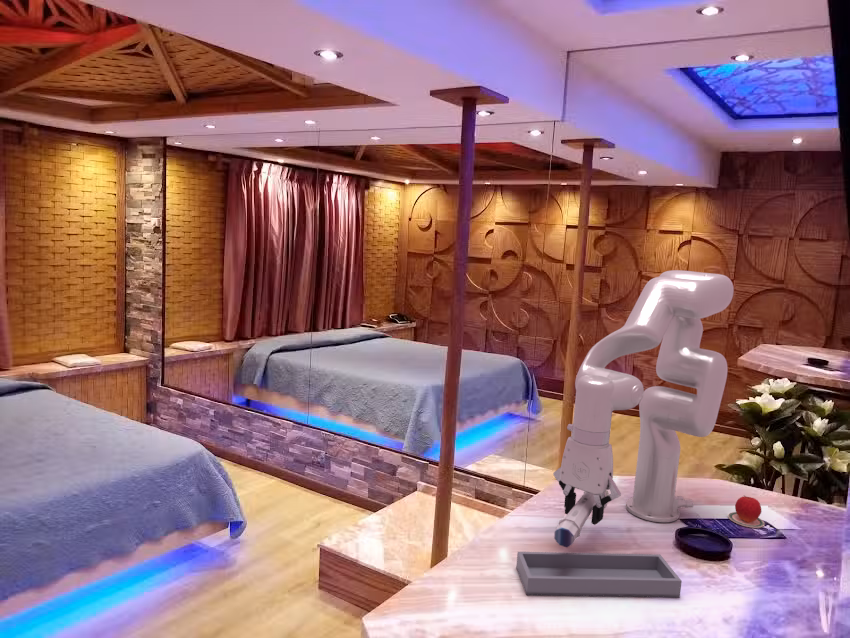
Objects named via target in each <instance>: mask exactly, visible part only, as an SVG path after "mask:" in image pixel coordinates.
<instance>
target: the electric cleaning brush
mask: <svg viewBox="0 0 850 638" xmlns="http://www.w3.org/2000/svg"><path fill="white" fill-rule="evenodd" d="M605 493H606V496H607V495H609V494H610V493H609V491H608V490H606V491H605ZM594 505H596V503H595V498H594V494H591V493H588V492H585V491H583V494H582V495H581V497H580V498H579V499H578V500H577V502H576V503H575V505H574V507H573V508H572V509H571V510H570V512H569V513H568V514H566V516H565V517H564V518H563V519H561V520H559V522H558V526H557V528H556V529H555V530H554V536H553V537H554V538H553V539H554V540H555V542H556V543H557V544H558V546H561V547H563V548H569V547H570V546H572V545H573V544H574V543H575V541H576V540H577V538H579V537H581V531H582V529H583V527H584V526H585V524H586V522H587V520H588V518H589V517H590V515H591V514H592V511H593V506H594ZM607 505H608V503H607V504H605V505H604V509H606V508H607Z"/></svg>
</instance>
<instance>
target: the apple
mask: <svg viewBox="0 0 850 638" xmlns="http://www.w3.org/2000/svg"><path fill="white" fill-rule="evenodd" d="M734 509H735V511H732V512H729V513H728V514H727V517H728V519H729V520H730V521H732V522H733V523H736V524H737V525H740V526H742V527H747V528H751V529H752V528H755V529H757V528H758V529H759V528H763V527H764V526H765V522H764V520H763V519H761V518H760V516H761V514H762V507H761V503H760V502H759V501H758V499H756V498H754V497H751V496H746V495H744V496H741V497H739V498H738V499H737V500H736V501H735V506H734Z"/></svg>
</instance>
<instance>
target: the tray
mask: <svg viewBox="0 0 850 638" xmlns="http://www.w3.org/2000/svg"><path fill="white" fill-rule="evenodd" d="M515 566H516V570H517V574H518V575H519V579H520V581H521V584H522V586H523V589H524V592H525V594H526V596H537V597H538V596H541V597H542V596H544V597H545V596H546V597H547V596H548V597H549V596H550V597H556V596H557V597H598V598H599V597H600V598H601V597H604V598H605V597H607V598H608V597H611V598H612V597H613V598H668V599H669V598H671V599H672V598H673V599H674V598H675V599H677V598H678V599H679V598H680V597H681V588H682V583H683V582H682V579H681V578H680V577H679V575H678V574H677V573H676V572H675V570H674V569H673V568H672V566H671V565H670V564H669V563H668V562H667V561H666V560H665V558H664V557H663V556H662V555H661V554H655V553H654V554H652V553H651V554H649V553H609V552H608V553H607V552H605V553H602V552H601V553H600V552H559V551H558V552H557V551H556V552H553V551H552V552H551V551H549V552H548V551H545V552H544V551H517V557H516V565H515Z"/></svg>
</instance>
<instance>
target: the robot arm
mask: <svg viewBox="0 0 850 638" xmlns="http://www.w3.org/2000/svg"><path fill="white" fill-rule="evenodd" d="M733 284H734V283H733V282H732V280H731V279H730V278H729V277H728V276H727V275H724V274H718V273H709V272H700V271H693V270H692V271H691V270H684V269H683V270H679V269H678V270H677V269H674V270H667V271H664V272H662V273H661V274H660V275H659V276H656V277H654V278H651V279H650V280H649V281H647V283H646V284H645V286H644V287H643V289H642V291H641V292H640V295H638V296H639V297H638V298H637V300H636V302H635V304H634V306H633V307H632V310H631V311H630V314H629V315H628V318H627V320H626V322H625V323H624V325H623V326H622V327H621V328H619V329H617V330H615V331H613V332H611V333H610V334H608V335H606V336H605V337H603V338H602V339H600V340H599V341H598V342H596V343H595V344H594V345H593V346H592V347H591V348H590V349H589V351H587V354H586V356H585V357H584V360H583V361H582V363H581V365H580V366H579V369H578V372H577V374H576V377H575V383H574V386H575V399H574V401H575V402H574V410H573V420H572V421H573V422H572V423H569V424H568V425H567V426H566V428H567V429H566V430H568V431H570V432H571V436H568V438H567V440H566V443H565V447H564V451H563V454H562V459H561V464H560V465H561V466H560V467H558V468H557V469H556V470H555V471H554V472H553V476H554V478H555V480H556V481H557V482H558V484H559V486H560V488H561V489H562V494H563V495H564V503H563V504H564V505H563V507H564V514H566V515H567V514H568V513H569V512H570V510H571V509H572V508H573V507H574V505H575V504H576V503H577V502H576V501H577V500H576V499H577V493H576V491H575V490H576V489H577V490H581V491H583V492H584V491H585V492H588V493H591V494H594V498H595V503H596V505H594V506H593V510H592V512H591V522H590V523H591V525H594V526H596V525H597V524H598V523H600V522H601V521H603V519H604V513H605V511H604V510H605V508H604V505H605V504H607V505H608V504H609V503H610V502H612V501H614V500H616V499H618V498H619V497H621V495H622V493H621V491H620V489H619V488H618V486H617V484H616V483H615V481H614V479H613V478H614V455H613V453H614V452H613V448H612V444H611V443H610V437H611V426H612V418H613V411H627V410H630V409H634V408H635V407H636V406H638V407H639V411H638V412H639V422H640V426H639V430H640V431H639V441H638V451H637V460H636V469H635V478H634V484H633V485H634V486H633V487H634V488H633V496H632V497H628V499H626V501H625V508H626V511H628V512H629V513H630V514H632V515H633V516H635V517H637V518H640V519H642V520H645V521H650V522H655V523H673V522H676V520H678V519H679V518H680V509H681V508H688V509H691V508H693V507H694V500H692V499H686V498H685V499H684V496H681V495H679V496H678V495H677V496H676V487H677V480H678V470H679V464H680V455H681V443H680V439H679V437H678V434H677V432H678V433H682V434H685V435H686V434H687V435H689V436H693V437H698V438H705V437H707V436H709V435H710V434H711V433H712V431H713V430H714V428H715V425H716V423H717V420H718V415H719V411H720V407H721V403H722V400H723V396H724V390H725V388H726V387H725V386H726V383H727V378H728V362H727V359H726V358H725V356H724V355H723V354H722V353H720V352H717V351H715V350H710V349H705V348H701V347H700V345H701V340H702V337H703V334H704V333H703V332H704V326H703V322H702V319H704V318H708V317H710V316H713V315H716V314H718V313H721V312H723V311H724V310H725V309H727V308H728V306H729V305H730V304H731V303H732V299H733V296H734V289H735V288H734V285H733ZM659 345H660V347H659V351H658V355H657V356H658V357H657V359H656V364H655V365H656V366H655V371H656V372H655V373H656V375H657V377H658V378H660V379H661V380H663V381H665V382H668V383H672V384H675V385H679V386H684V387H688V388H693V389H696V394H695V393H690V392H687V391H683V390H679V389H676V388H675V389H674V388H671V387H667V386H661V385H660V386H659V385H655V386H651V387H648V388H645V390H644V385H643V382H642V381H641V380H640V379H639V378H638V377H636V376H634V375H632V374H629V373H625V372H620V371H616V370H614V369H613V370H612V369H608V368H606V367H607V365H609V364H610V363H612V361H614V360H616V359H617V358H620V357H623V356H626V355H631V354H635V353H640V352H645V351H650V350H652V349H655V348H657V347H658V346H659ZM606 490H607V491H608V490H609V492H610V493H609V495H607V496H606V493H605V491H606Z"/></svg>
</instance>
